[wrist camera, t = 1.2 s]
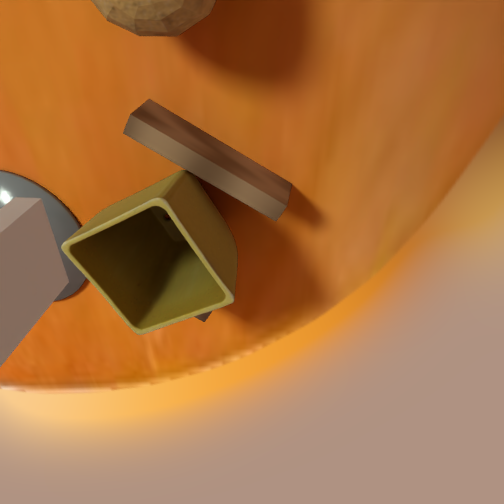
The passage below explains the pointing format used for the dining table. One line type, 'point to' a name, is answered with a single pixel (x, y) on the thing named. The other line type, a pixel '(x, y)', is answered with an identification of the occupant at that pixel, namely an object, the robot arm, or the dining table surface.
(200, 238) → the flower pot
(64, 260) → the grey round disc
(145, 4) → the potato
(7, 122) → the dining table surface
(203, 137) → the wooden blocks
